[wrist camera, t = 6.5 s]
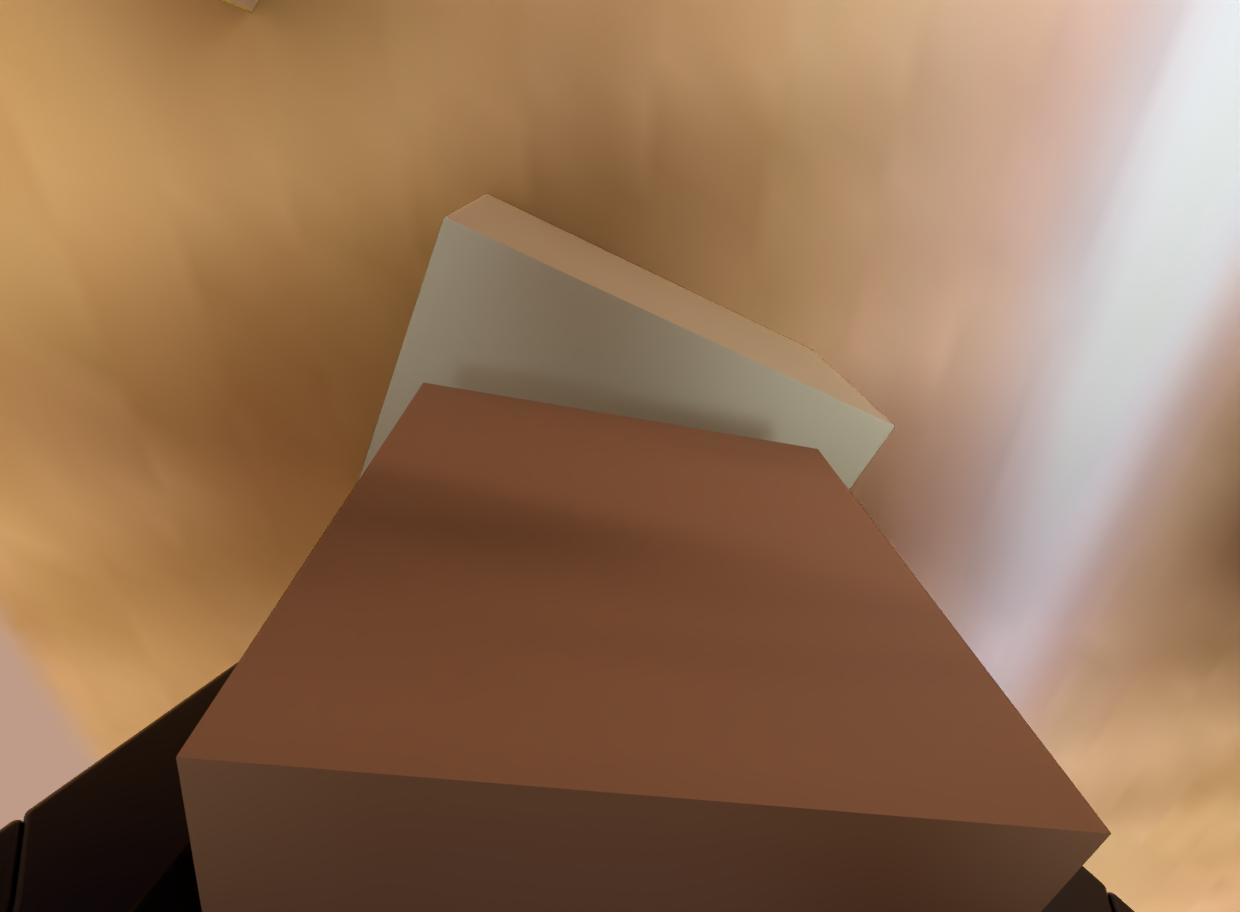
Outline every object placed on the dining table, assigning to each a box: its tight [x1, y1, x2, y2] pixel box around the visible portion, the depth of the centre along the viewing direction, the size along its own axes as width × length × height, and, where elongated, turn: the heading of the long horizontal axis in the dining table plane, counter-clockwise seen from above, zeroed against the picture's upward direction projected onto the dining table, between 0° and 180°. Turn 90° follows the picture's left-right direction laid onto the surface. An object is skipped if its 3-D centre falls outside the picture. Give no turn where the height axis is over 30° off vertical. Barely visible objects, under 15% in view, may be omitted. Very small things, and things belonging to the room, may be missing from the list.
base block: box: [358, 193, 895, 489], centre depth 12 cm, size 7×7×4 cm
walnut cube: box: [176, 383, 1111, 912], centre depth 7 cm, size 5×5×5 cm
